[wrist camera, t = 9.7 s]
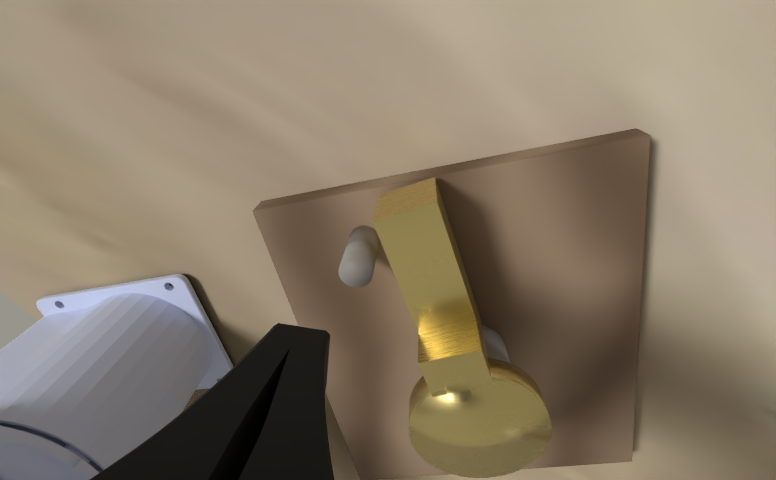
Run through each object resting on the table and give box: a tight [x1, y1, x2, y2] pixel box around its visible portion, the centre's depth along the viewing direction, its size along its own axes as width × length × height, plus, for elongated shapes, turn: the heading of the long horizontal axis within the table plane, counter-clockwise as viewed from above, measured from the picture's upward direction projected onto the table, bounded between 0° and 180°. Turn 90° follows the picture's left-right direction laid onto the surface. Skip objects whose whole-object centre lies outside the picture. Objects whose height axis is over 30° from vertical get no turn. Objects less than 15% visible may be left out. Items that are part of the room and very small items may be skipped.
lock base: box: [253, 129, 650, 480], centre depth 21 cm, size 17×20×4 cm
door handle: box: [373, 177, 552, 478], centre depth 18 cm, size 13×6×5 cm, turn 20°
